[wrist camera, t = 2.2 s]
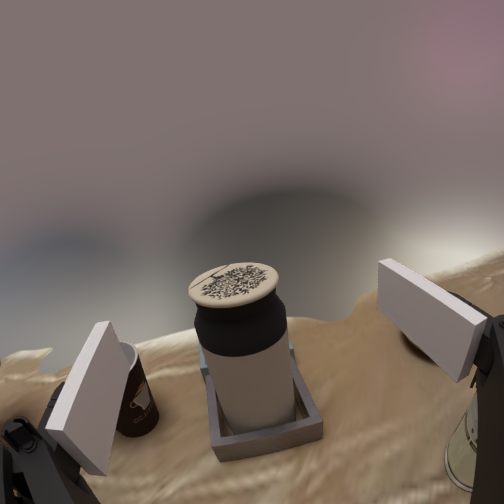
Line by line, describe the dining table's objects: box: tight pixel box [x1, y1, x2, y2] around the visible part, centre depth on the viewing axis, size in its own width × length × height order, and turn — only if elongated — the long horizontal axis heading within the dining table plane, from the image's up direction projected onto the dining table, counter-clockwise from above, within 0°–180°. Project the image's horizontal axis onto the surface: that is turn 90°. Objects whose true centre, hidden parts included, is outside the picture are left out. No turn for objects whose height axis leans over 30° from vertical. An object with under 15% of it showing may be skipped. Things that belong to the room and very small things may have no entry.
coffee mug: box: [71, 340, 159, 437], centre depth 27 cm, size 12×9×10 cm
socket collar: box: [206, 357, 323, 462], centre depth 29 cm, size 11×11×4 cm
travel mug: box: [188, 263, 296, 435], centre depth 26 cm, size 8×8×18 cm
